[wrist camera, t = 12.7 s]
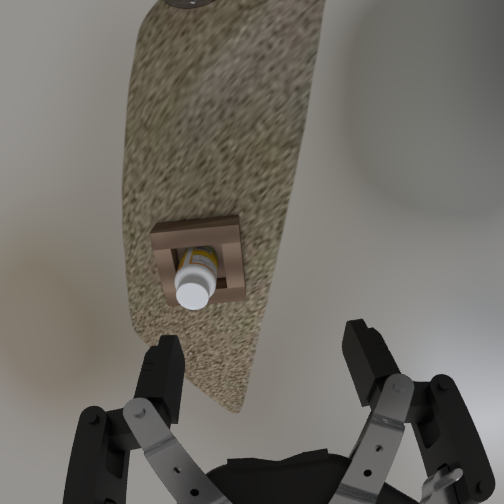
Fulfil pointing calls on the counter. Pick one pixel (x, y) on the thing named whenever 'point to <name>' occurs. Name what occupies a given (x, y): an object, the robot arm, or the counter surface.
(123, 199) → the counter surface
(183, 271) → the supplement bottle
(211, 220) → the socket block
